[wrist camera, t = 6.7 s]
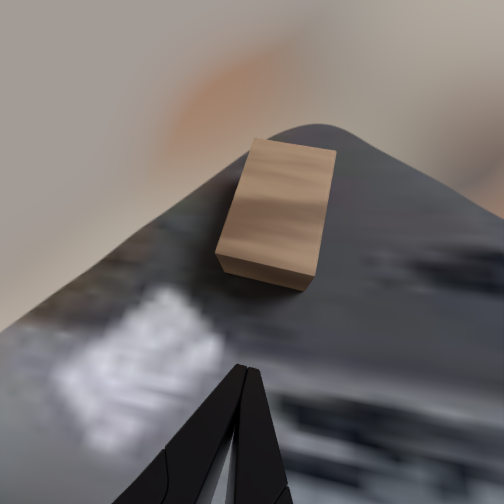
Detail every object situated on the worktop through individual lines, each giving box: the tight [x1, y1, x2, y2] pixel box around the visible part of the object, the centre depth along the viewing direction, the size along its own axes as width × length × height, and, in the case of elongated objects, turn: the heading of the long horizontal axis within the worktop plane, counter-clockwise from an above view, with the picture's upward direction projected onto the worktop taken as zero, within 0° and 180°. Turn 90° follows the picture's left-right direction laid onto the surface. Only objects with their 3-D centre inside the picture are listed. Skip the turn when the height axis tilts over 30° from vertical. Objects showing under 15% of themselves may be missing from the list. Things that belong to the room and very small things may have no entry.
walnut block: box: [215, 138, 336, 291], centre depth 20 cm, size 5×7×11 cm
